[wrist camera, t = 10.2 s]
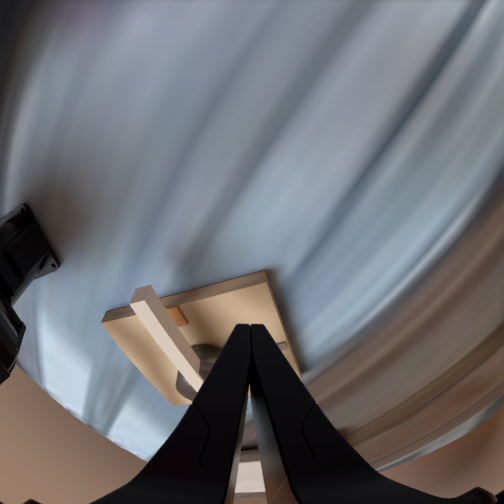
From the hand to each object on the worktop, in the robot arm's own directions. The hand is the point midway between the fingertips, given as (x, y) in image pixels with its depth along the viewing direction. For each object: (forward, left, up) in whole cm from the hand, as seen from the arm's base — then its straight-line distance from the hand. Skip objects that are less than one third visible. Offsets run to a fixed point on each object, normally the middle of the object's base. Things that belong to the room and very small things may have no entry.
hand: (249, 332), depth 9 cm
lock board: (-8, -13, -12) cm, 19 cm away
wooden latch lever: (-8, -9, -10) cm, 16 cm away
